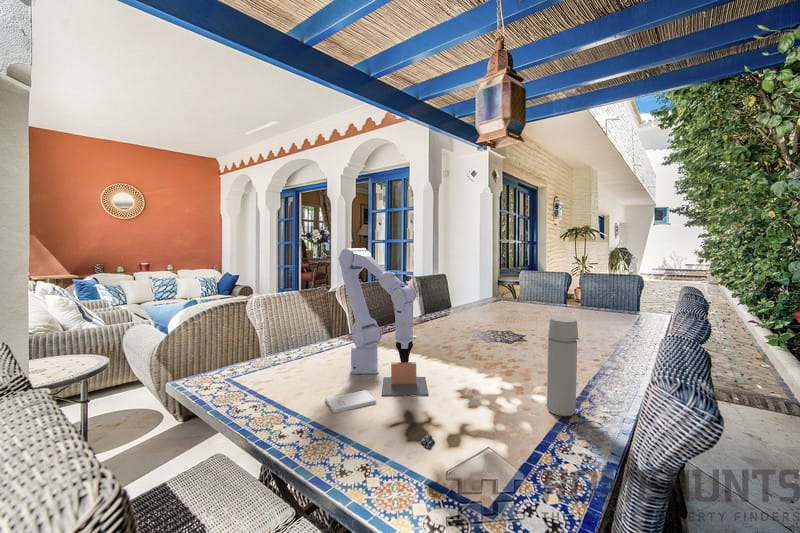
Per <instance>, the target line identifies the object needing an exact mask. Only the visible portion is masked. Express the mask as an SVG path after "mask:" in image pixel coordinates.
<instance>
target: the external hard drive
mask: <svg viewBox="0 0 800 533" xmlns="http://www.w3.org/2000/svg"><path fill="white" fill-rule="evenodd" d="M324 402H325V403H326V404H327V406H328V407H329V409H330V410H331V412H332V413H333V414H335V413H340V412H344V411H349V410H353V409H358V408H362V407H367V406H370V405H371V406H372V405H375V404H377V399H376V398H374V397H373V396H372V395H371V394H370V392H369V391H368V390H366V389H365V390H364V389H363V390H361V391H355V392H350V393H346V394H342V395H336V396H331V397H327V398H325V401H324Z"/></svg>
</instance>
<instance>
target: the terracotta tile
mask: <svg viewBox="0 0 800 533" xmlns="http://www.w3.org/2000/svg"><path fill="white" fill-rule="evenodd" d="M390 365H391V367H390V369H391V371H390V372H391V373H390V374H391V376H390V377H391V384H416V377H417V361H408V362H401V361H399V362H397V361H396V362H394V361H393V362H390Z"/></svg>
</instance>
